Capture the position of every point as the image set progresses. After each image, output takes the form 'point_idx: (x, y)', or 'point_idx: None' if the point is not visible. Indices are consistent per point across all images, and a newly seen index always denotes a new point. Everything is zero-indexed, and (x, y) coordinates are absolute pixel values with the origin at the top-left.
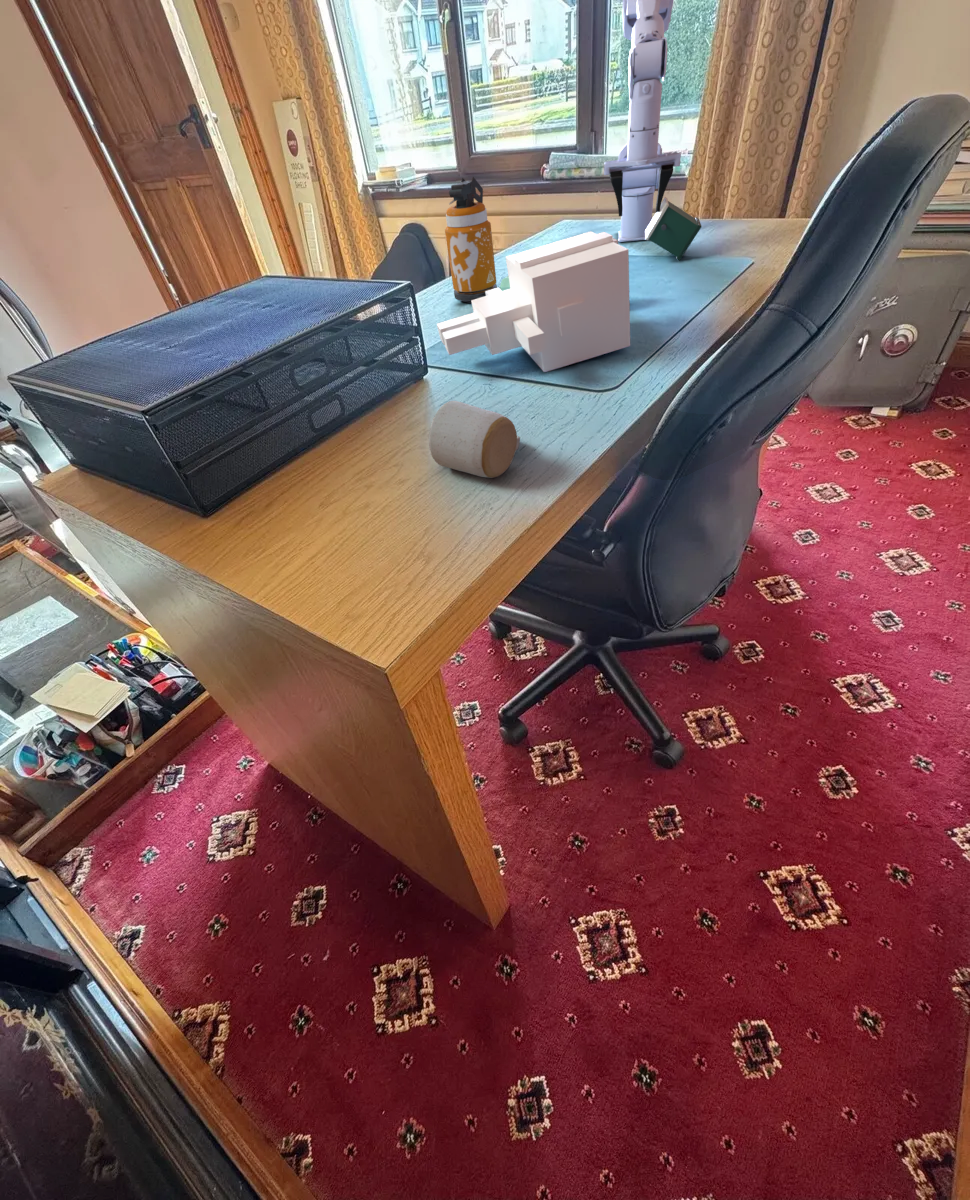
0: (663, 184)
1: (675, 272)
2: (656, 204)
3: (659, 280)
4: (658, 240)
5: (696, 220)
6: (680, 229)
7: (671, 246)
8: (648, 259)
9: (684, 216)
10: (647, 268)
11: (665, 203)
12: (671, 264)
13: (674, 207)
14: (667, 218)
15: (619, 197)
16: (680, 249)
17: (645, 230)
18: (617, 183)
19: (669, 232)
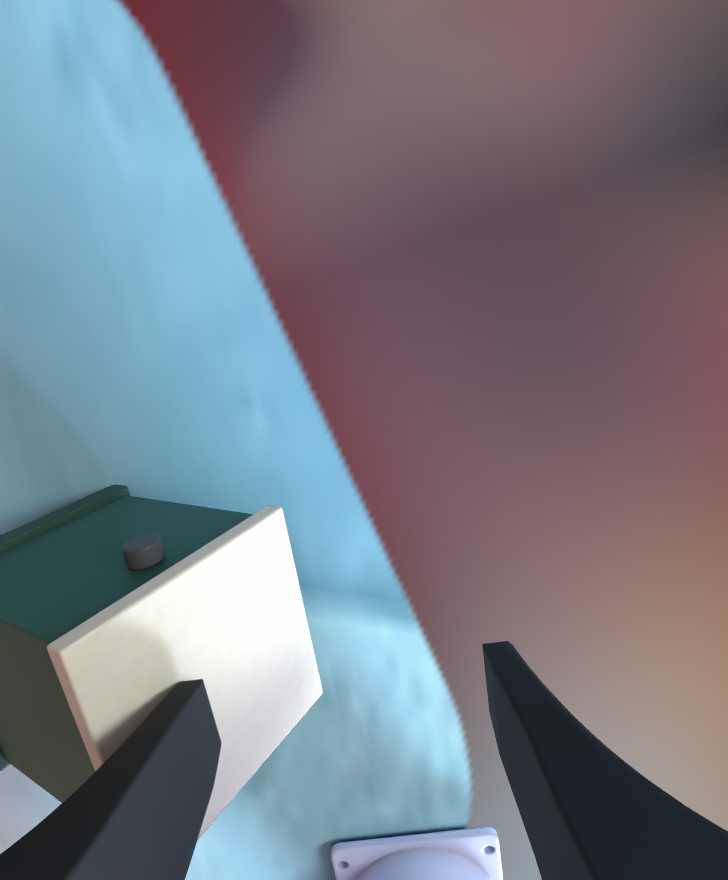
0: (36, 857)
1: (82, 267)
2: (198, 756)
3: (137, 103)
4: (201, 517)
5: None
6: (43, 562)
7: (135, 514)
8: (291, 537)
9: None
10: (263, 370)
11: (90, 699)
12: (144, 428)
13: (66, 744)
14: (102, 594)
15: (556, 735)
16: (91, 511)
17: (318, 692)
18: (657, 847)
19: (120, 546)
